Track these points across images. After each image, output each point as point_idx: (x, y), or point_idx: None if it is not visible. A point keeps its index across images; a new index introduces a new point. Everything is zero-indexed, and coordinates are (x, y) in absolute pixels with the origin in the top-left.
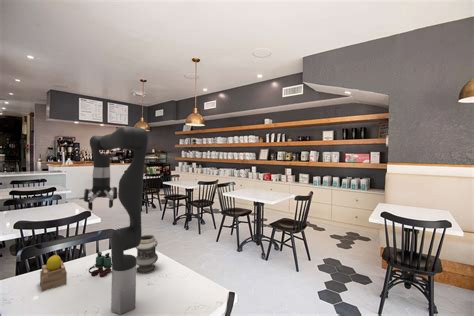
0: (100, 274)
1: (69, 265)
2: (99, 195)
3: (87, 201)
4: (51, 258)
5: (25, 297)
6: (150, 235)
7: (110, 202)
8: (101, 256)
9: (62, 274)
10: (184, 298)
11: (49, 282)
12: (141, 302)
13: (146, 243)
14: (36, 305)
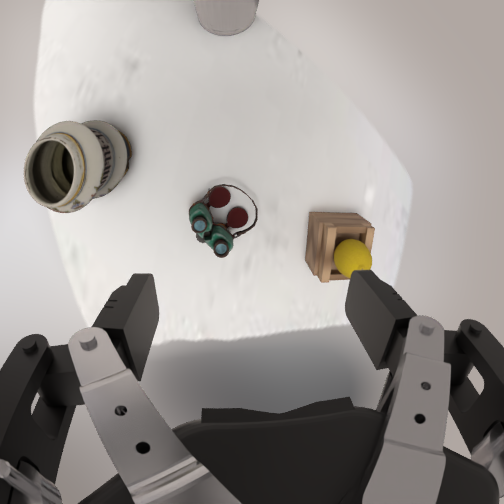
0: (227, 194)
1: (277, 314)
2: (338, 429)
3: (451, 334)
4: (368, 259)
5: (383, 211)
6: (33, 192)
7: (129, 312)
8: (215, 242)
9: (328, 221)
10: None
11: (351, 217)
12: (187, 4)
13: (65, 133)
14: (375, 157)
